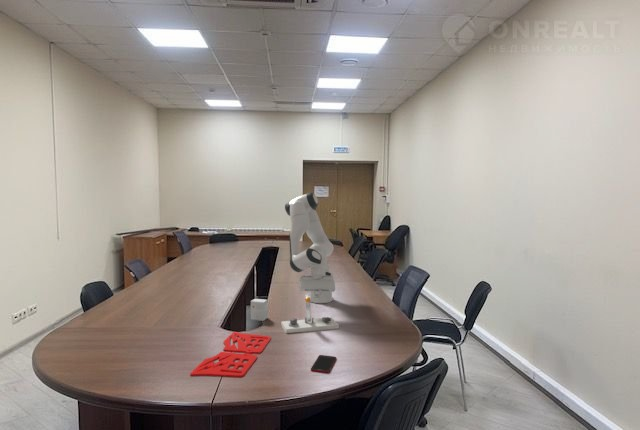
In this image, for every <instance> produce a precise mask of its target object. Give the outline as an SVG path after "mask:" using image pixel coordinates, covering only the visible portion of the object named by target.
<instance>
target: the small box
mask: <svg viewBox="0 0 640 430" xmlns="http://www.w3.org/2000/svg"><path fill="white" fill-rule="evenodd" d="M268 307H269V305H268V299H263V298H262V299H261V298H254V299H252V300H250V320H251V321H262V322H264V321H266V320H267V319H268V317H269V316H268V313H269V311H268Z"/></svg>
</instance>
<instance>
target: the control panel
mask: <svg viewBox="0 0 640 430" xmlns="http://www.w3.org/2000/svg"><path fill="white" fill-rule="evenodd" d="M322 318H323V317H320V318H314V317H311V322H307V316H306V317H305V318H304V319H297V324H290V320H285V321H284V320H282V321H281V322H280V323H281V327H282V328H283V331H284V332H285V334H292V333H301V332H302V333H303V332H305V333H306V332H313V331H325V330H334V329H339V325H340V324H339V323H338V322H336V321H335V319H333V317H329V318H331V321H327V322H325V321H322Z"/></svg>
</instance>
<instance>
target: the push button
mask: <svg viewBox="0 0 640 430" xmlns="http://www.w3.org/2000/svg"><path fill="white" fill-rule="evenodd" d="M297 320H298V319H297V318H290V319H289V321H290V324H297Z"/></svg>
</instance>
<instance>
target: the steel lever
mask: <svg viewBox="0 0 640 430" xmlns="http://www.w3.org/2000/svg"><path fill="white" fill-rule="evenodd" d="M304 301H305V305H306V317H307V322H311V319H312V310H311V302H310V301H311V299H310V298H309V297H307V298H306V297H305V299H304Z"/></svg>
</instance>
